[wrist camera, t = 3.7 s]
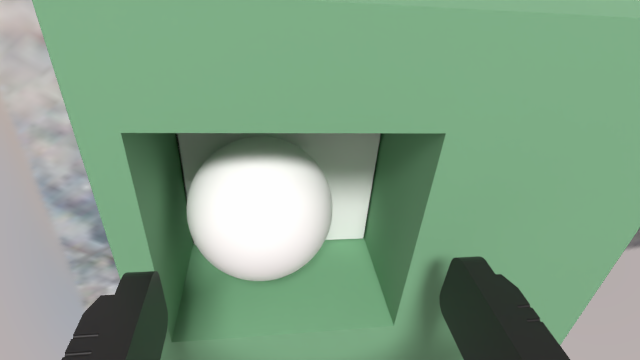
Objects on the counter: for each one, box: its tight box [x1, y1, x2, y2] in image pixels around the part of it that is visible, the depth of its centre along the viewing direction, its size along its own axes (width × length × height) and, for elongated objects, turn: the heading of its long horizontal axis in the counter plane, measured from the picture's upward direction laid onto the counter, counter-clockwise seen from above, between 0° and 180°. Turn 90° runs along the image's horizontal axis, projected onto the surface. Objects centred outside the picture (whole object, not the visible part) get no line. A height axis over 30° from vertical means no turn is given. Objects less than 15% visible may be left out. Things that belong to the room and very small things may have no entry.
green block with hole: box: [32, 0, 640, 360], centre depth 14 cm, size 17×14×5 cm
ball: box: [186, 136, 333, 281], centre depth 13 cm, size 5×5×5 cm
